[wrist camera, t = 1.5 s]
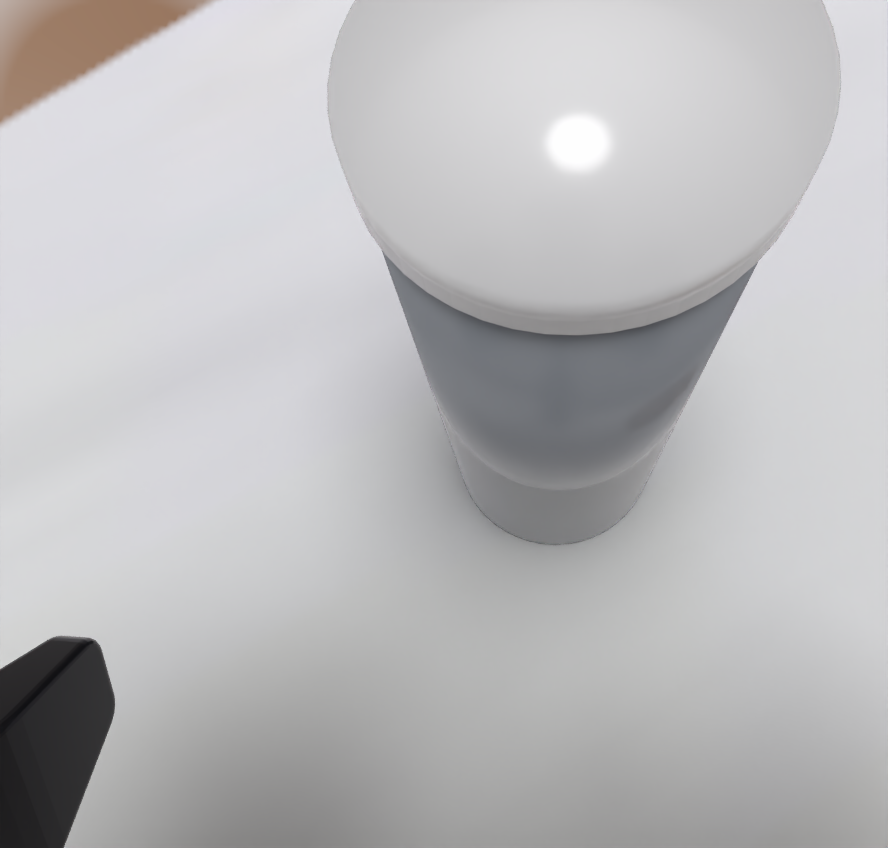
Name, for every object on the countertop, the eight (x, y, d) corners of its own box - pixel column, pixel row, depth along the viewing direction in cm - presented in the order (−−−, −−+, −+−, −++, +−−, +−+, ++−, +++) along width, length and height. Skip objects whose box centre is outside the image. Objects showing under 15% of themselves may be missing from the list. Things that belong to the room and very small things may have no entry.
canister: (594, 587, 20) (693, 393, 7) (418, 485, 22) (231, 164, 8) (689, 414, 21) (925, -28, 8) (516, 327, 23) (485, -178, 10)
